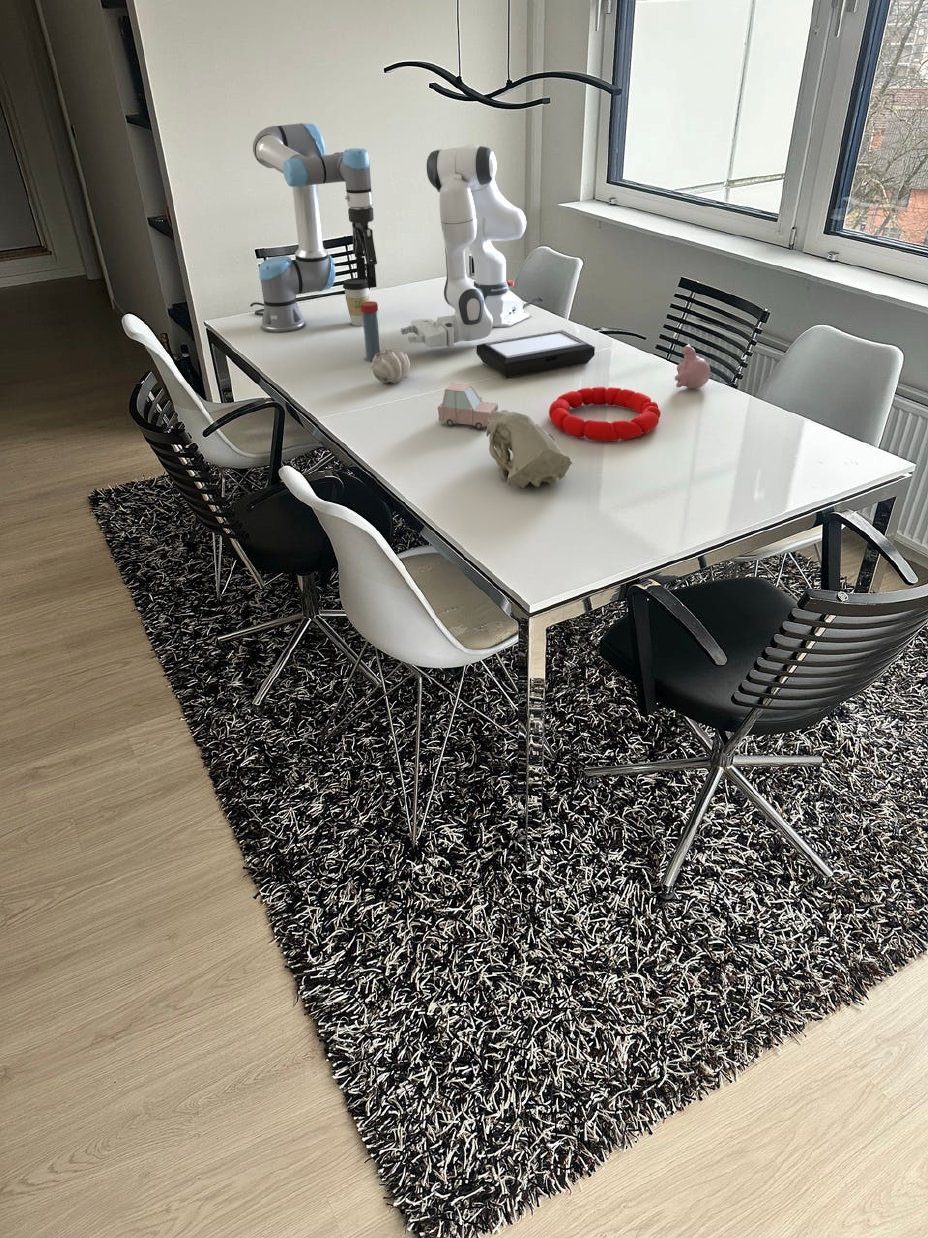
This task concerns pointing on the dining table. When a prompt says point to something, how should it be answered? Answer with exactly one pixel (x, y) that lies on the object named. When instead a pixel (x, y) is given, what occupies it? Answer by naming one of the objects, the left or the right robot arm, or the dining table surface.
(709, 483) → the dining table surface
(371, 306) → the lid
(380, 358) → the seashell
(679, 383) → the figurine
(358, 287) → the coffee cup
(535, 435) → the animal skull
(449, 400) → the toy car
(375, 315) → the jar
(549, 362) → the electronic device
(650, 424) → the decorative ring
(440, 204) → the right robot arm
